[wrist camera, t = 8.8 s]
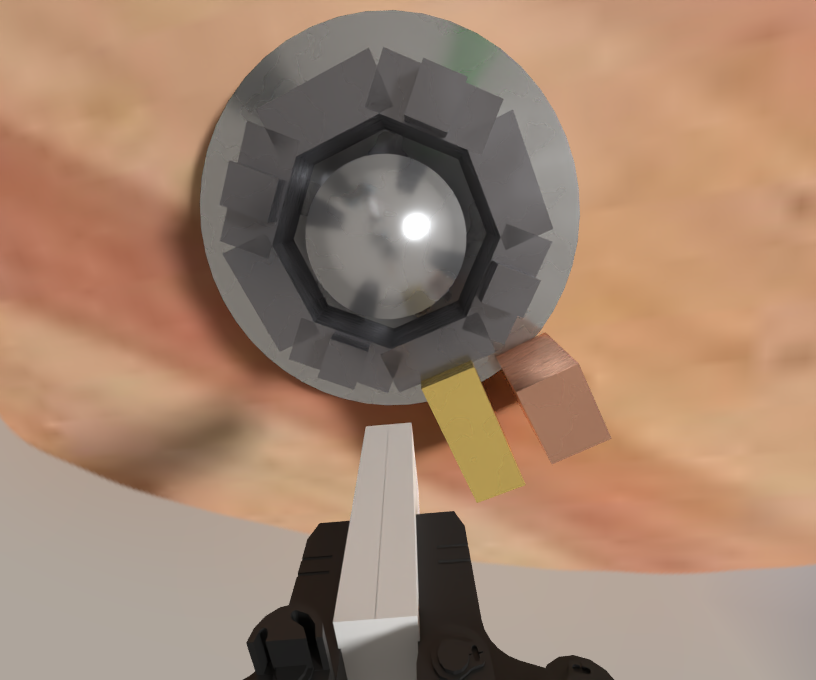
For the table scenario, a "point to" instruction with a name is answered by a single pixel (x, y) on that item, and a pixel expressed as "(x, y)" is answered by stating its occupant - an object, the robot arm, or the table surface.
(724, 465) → the table surface
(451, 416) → the grey ring yellow handle
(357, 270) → the housing
